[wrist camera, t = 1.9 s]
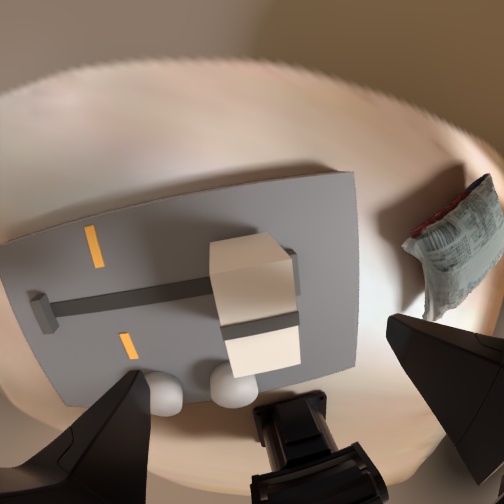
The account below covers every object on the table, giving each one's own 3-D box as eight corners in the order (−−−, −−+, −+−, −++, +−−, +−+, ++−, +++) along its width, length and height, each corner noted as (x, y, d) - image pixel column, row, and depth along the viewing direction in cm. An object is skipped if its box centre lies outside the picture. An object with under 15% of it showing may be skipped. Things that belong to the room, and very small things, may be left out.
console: (338, 171, 16) (368, 172, 13) (344, 352, 21) (363, 379, 17) (7, 241, 14) (-22, 256, 11) (72, 391, 18) (60, 418, 15)
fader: (268, 231, 14) (294, 259, 10) (279, 315, 16) (302, 365, 11) (208, 242, 14) (208, 276, 10) (226, 326, 16) (233, 380, 11)
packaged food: (485, 247, 21) (519, 261, 16) (410, 316, 21) (444, 343, 16) (470, 168, 18) (511, 172, 13) (384, 231, 18) (428, 249, 14)
